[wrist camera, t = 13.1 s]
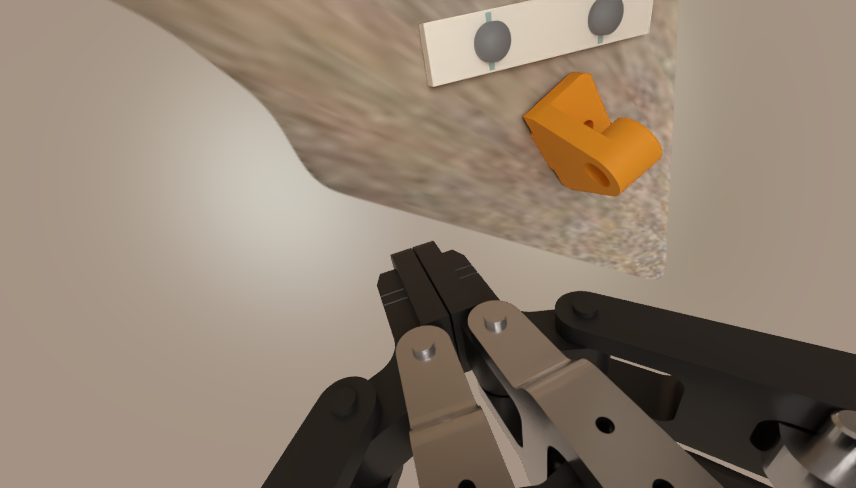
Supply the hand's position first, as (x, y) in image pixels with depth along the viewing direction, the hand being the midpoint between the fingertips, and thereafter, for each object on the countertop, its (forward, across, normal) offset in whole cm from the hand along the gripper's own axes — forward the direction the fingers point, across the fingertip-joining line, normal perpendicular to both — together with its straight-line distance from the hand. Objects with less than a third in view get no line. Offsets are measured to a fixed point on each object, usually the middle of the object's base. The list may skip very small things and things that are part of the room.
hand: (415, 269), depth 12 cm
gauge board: (+25, -21, -4) cm, 33 cm away
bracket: (+25, -24, +6) cm, 36 cm away
